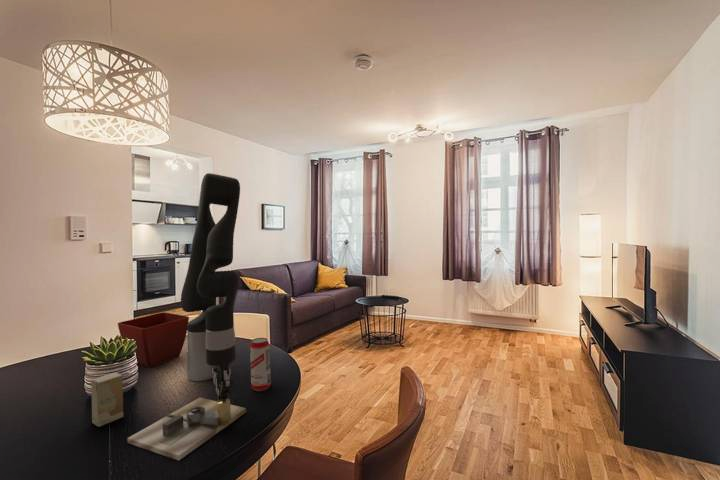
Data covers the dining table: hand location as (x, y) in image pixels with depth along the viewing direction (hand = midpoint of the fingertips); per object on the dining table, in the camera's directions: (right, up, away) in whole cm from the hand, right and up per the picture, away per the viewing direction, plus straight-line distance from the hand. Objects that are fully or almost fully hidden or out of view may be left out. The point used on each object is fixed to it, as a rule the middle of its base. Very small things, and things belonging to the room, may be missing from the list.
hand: (222, 406), depth 94 cm
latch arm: (-2, -2, -3) cm, 5 cm away
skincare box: (-33, -5, +3) cm, 34 cm away
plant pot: (-47, -4, +47) cm, 67 cm away
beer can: (+5, -4, +20) cm, 21 cm away
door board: (-8, -5, -2) cm, 9 cm away
